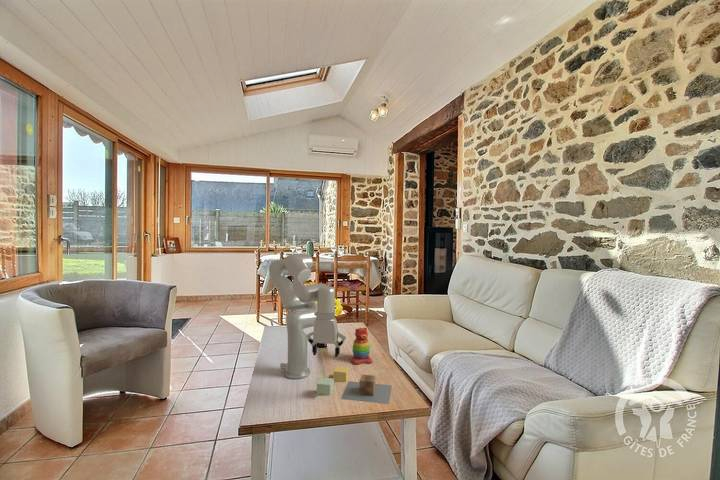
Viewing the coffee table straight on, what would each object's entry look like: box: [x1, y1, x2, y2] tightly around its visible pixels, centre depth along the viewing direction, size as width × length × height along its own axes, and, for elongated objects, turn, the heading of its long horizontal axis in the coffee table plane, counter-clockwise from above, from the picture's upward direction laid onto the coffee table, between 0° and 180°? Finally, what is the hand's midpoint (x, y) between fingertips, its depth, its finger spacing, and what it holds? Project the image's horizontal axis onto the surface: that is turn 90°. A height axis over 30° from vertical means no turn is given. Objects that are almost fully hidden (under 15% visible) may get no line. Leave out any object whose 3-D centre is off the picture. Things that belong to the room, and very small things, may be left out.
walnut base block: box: [359, 374, 376, 396], centre depth 145 cm, size 6×6×6 cm
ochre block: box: [332, 365, 350, 383], centre depth 157 cm, size 6×6×6 cm
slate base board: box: [340, 380, 393, 405], centre depth 145 cm, size 20×16×2 cm
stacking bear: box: [351, 327, 373, 366], centre depth 182 cm, size 11×10×18 cm
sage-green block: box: [315, 376, 335, 398], centre depth 145 cm, size 6×6×6 cm
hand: (325, 355), depth 144 cm, fingers open, 9 cm apart
